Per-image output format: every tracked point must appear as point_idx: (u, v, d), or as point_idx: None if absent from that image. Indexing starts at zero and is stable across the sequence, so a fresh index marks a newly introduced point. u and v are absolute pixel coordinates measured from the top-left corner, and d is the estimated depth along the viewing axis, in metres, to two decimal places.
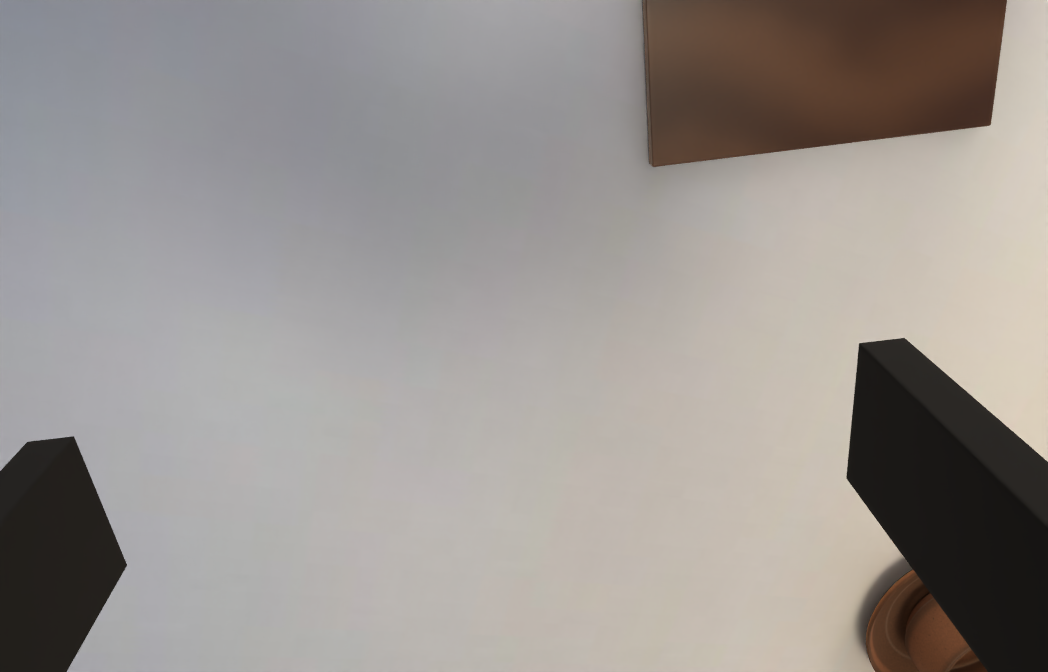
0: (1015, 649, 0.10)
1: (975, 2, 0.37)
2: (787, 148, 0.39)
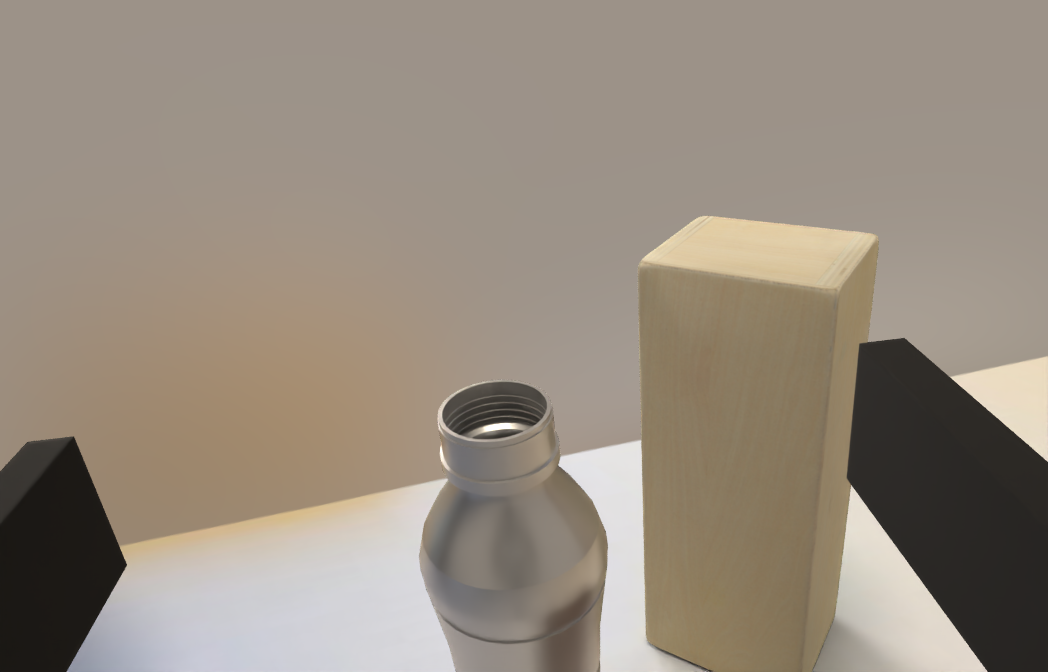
0: (1015, 648, 0.10)
1: None
2: None
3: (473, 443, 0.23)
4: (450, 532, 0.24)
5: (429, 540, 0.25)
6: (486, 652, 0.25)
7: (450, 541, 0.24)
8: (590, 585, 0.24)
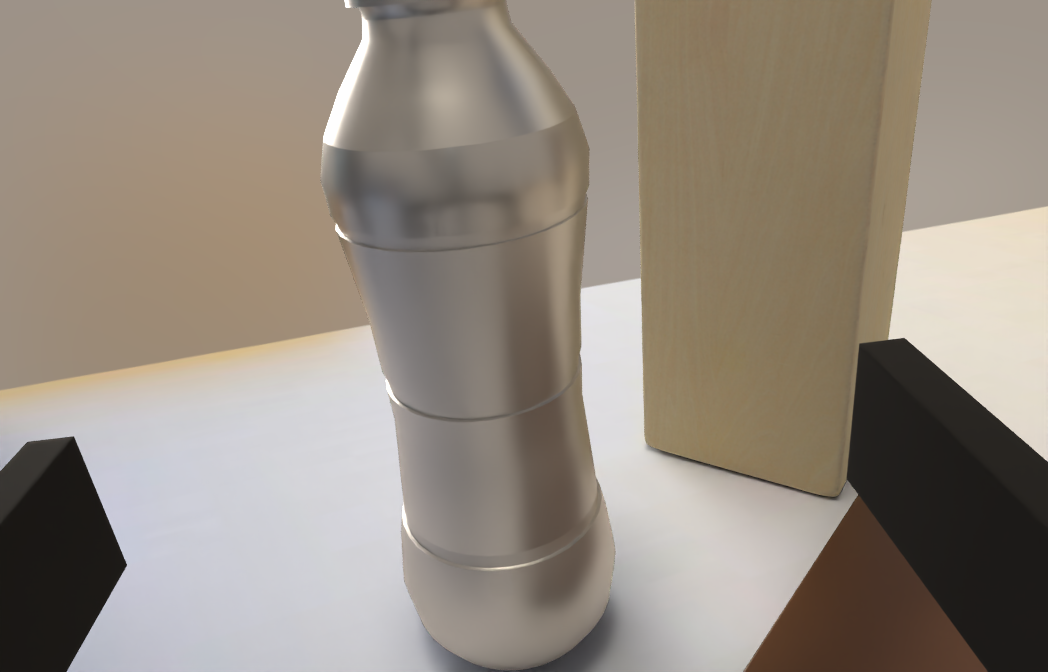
0: (1015, 648, 0.10)
1: None
2: None
3: None
4: (355, 90, 0.16)
5: (330, 125, 0.17)
6: (411, 276, 0.17)
7: (355, 102, 0.16)
8: (562, 172, 0.17)
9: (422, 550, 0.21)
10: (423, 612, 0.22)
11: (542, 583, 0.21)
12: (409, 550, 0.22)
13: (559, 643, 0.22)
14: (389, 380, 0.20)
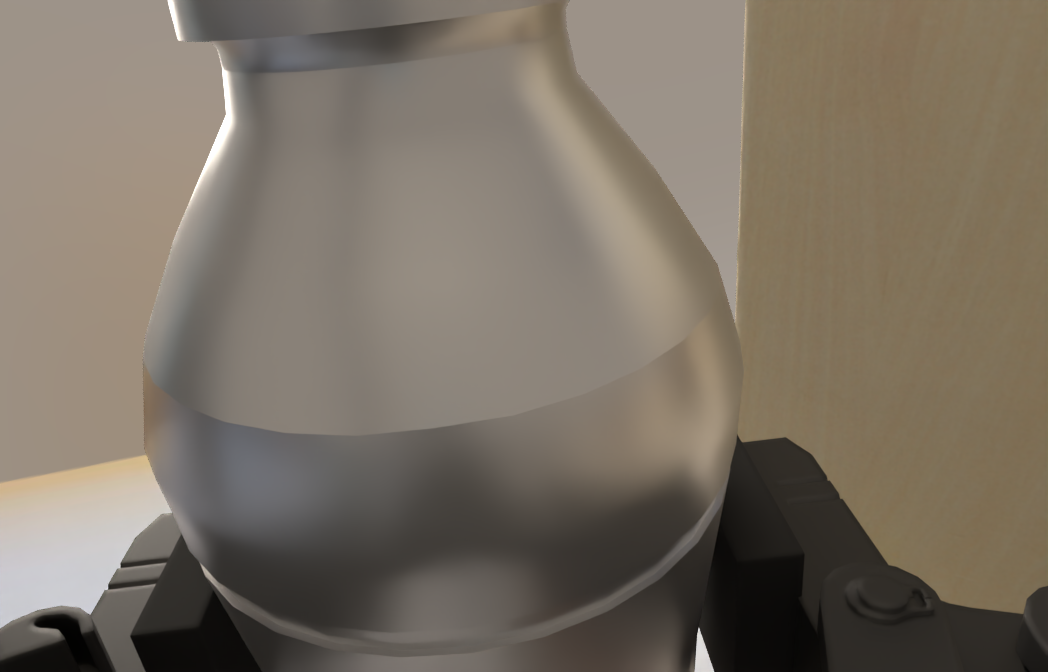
0: None
1: None
2: None
3: None
4: (196, 245, 0.07)
5: None
6: None
7: (194, 277, 0.07)
8: (708, 443, 0.07)
9: None
10: None
11: None
12: None
13: None
14: None
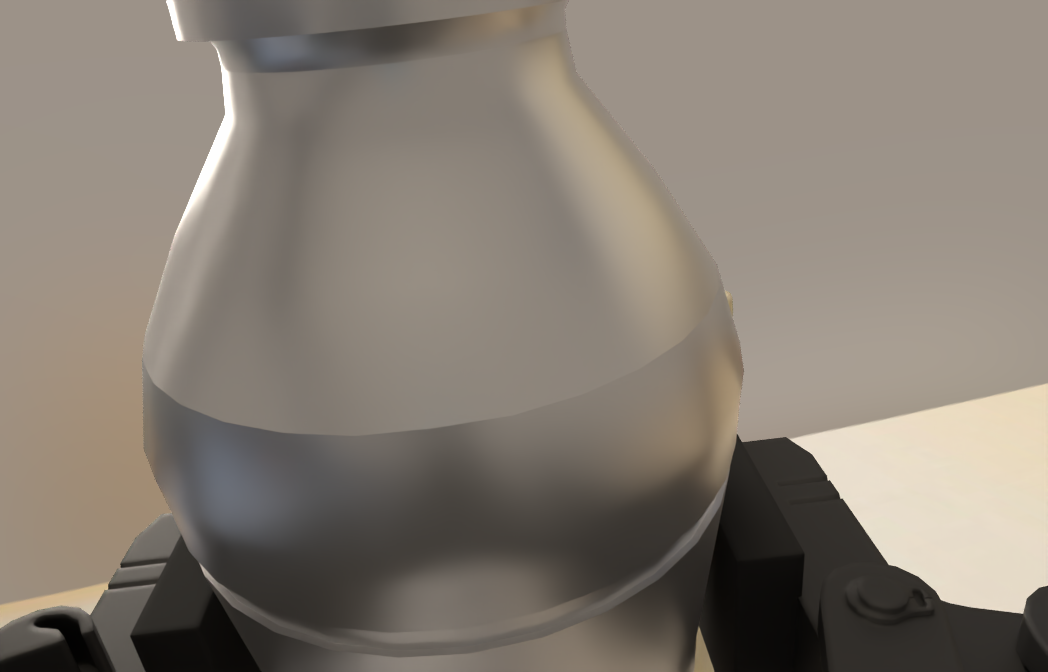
0: None
1: None
2: None
3: None
4: (194, 245, 0.07)
5: (156, 308, 0.08)
6: None
7: (193, 277, 0.07)
8: (707, 444, 0.07)
9: None
10: None
11: None
12: None
13: None
14: None
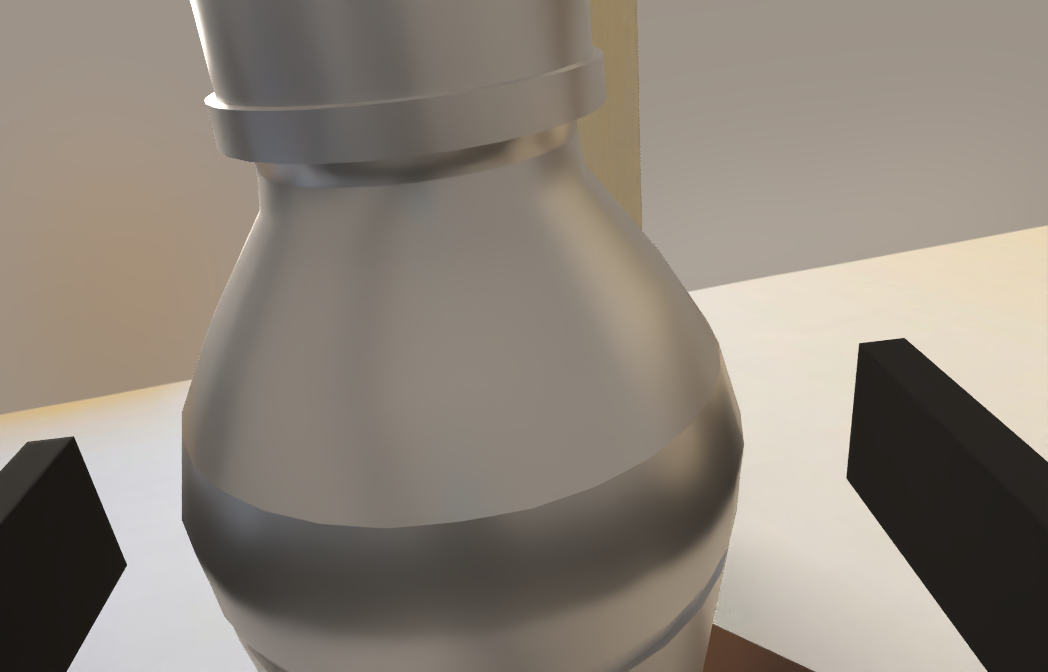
0: (1015, 648, 0.10)
1: None
2: None
3: None
4: (234, 340, 0.07)
5: (193, 388, 0.08)
6: None
7: (232, 370, 0.07)
8: (709, 522, 0.07)
9: None
10: None
11: None
12: None
13: None
14: None
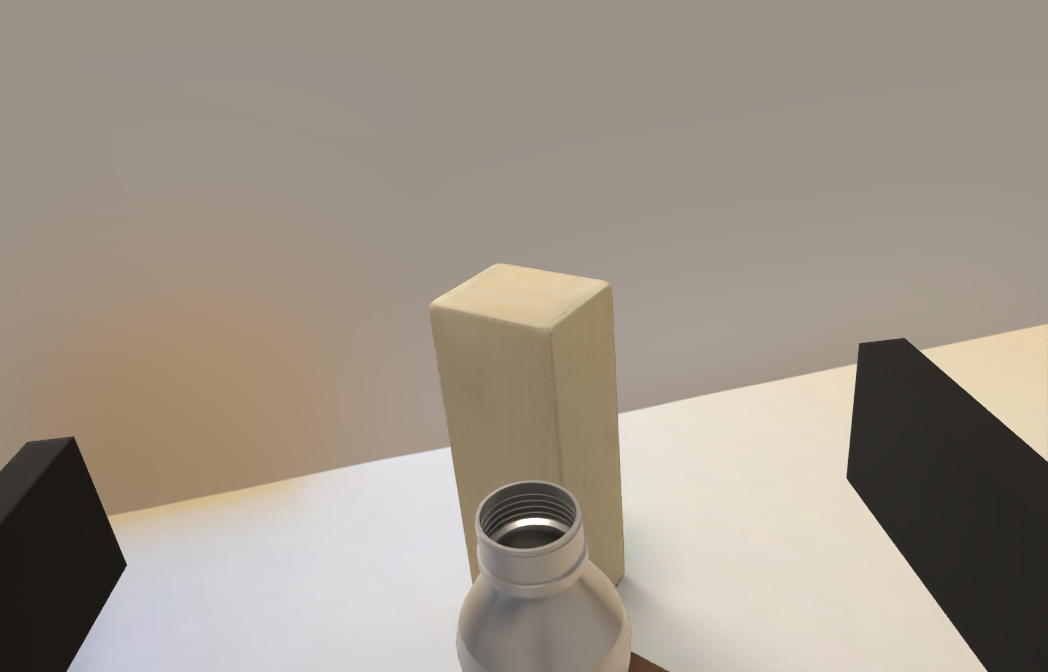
0: (1016, 648, 0.10)
1: None
2: None
3: (510, 552, 0.25)
4: (487, 627, 0.26)
5: (466, 631, 0.27)
6: None
7: (487, 635, 0.26)
8: None
9: None
10: None
11: None
12: None
13: None
14: None
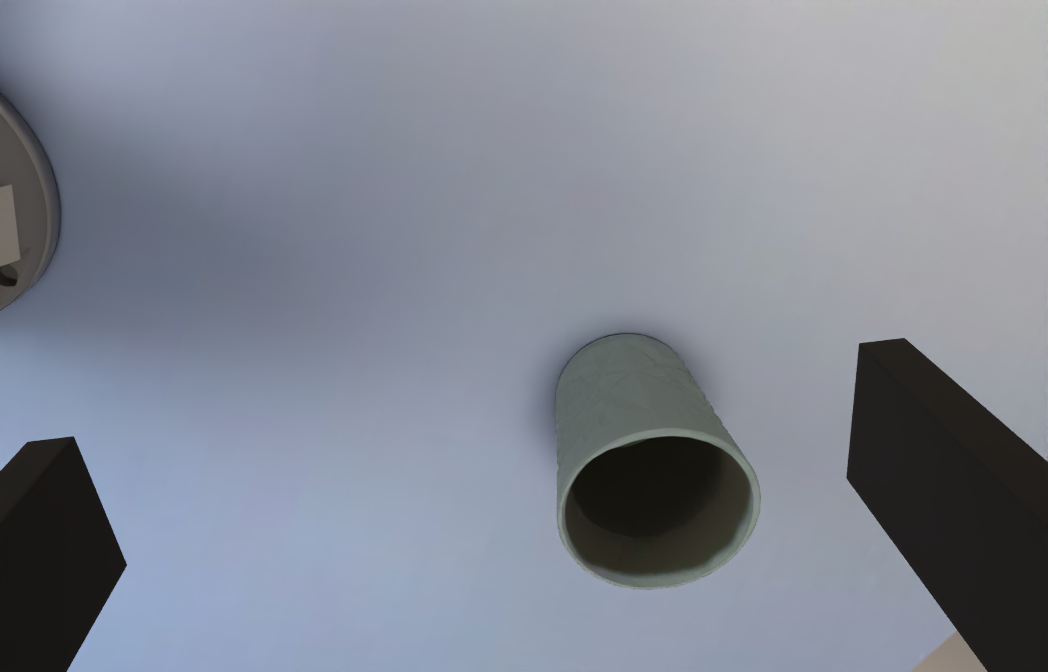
0: (1016, 648, 0.10)
1: None
2: None
3: None
4: None
5: None
6: None
7: None
8: None
9: None
10: None
11: None
12: None
13: None
14: None
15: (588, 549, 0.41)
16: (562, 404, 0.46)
